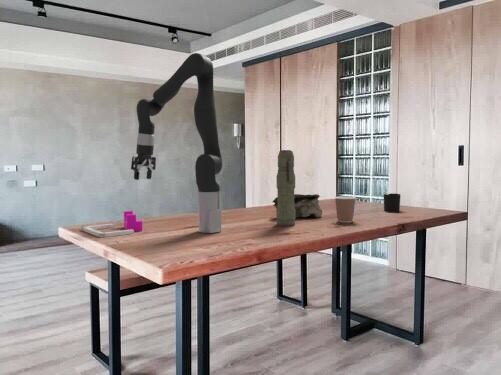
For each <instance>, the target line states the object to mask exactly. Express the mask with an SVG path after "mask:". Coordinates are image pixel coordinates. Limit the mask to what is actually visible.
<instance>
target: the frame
mask: <svg viewBox="0 0 501 375" xmlns="http://www.w3.org/2000/svg"><path fill="white" fill-rule="evenodd" d="M115 225H116V224H114V223H106V224H99V225H87V226H81V231H82V232H85V233H88V234H90V235H93V236H96V237H97V238H101V239H102V238H108V237H110V238H111V237H115V236H117V237H118V236H125V235H134V234H135V232H134V230H132V229H131V230H126V229H124V230H115V231H108V232H103V231H100V230H102V229H103V230H105V229H113V228H116V227H115Z"/></svg>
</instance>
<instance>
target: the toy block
mask: <svg viewBox="0 0 501 375" xmlns="http://www.w3.org/2000/svg"><path fill="white" fill-rule="evenodd" d="M123 228H124V230H131V229H132V230H134V233H137V232H143V221H142V220H141V219H138V220H137V214H136V213H134V212H133V210H124V211H123Z"/></svg>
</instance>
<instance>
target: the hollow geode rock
mask: <svg viewBox="0 0 501 375" xmlns="http://www.w3.org/2000/svg"><path fill="white" fill-rule="evenodd" d="M320 197H321V196H320V195H319V194H318V193H317V194H316V193H314V194H299V193H298V194H297V193H294V208H295V219H296V218H299V219H300V218H301V217H303V218H305V217H306V218H307V217H313V218H321V217H322V215H323V210H322V208H321V206H320V204H319V202H320V201H319V198H320ZM272 203H274V204H273V205H272V206H273V207H274V208H275V210H276V211H277V208H278V196H276V197H275V198H274V199H273V200H272Z"/></svg>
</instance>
